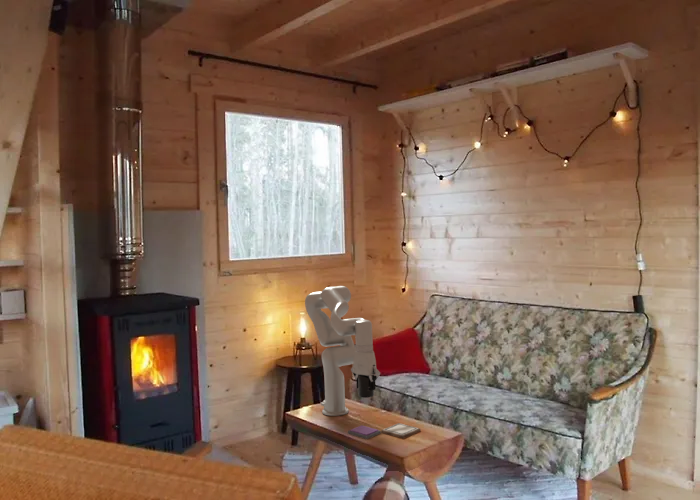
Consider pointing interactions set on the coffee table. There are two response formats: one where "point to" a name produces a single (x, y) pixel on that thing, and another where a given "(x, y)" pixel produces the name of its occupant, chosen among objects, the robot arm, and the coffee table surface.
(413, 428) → the white square tile
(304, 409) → the coffee table surface
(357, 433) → the ink pad
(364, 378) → the supplement bottle
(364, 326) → the robot arm
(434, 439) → the coffee table surface
